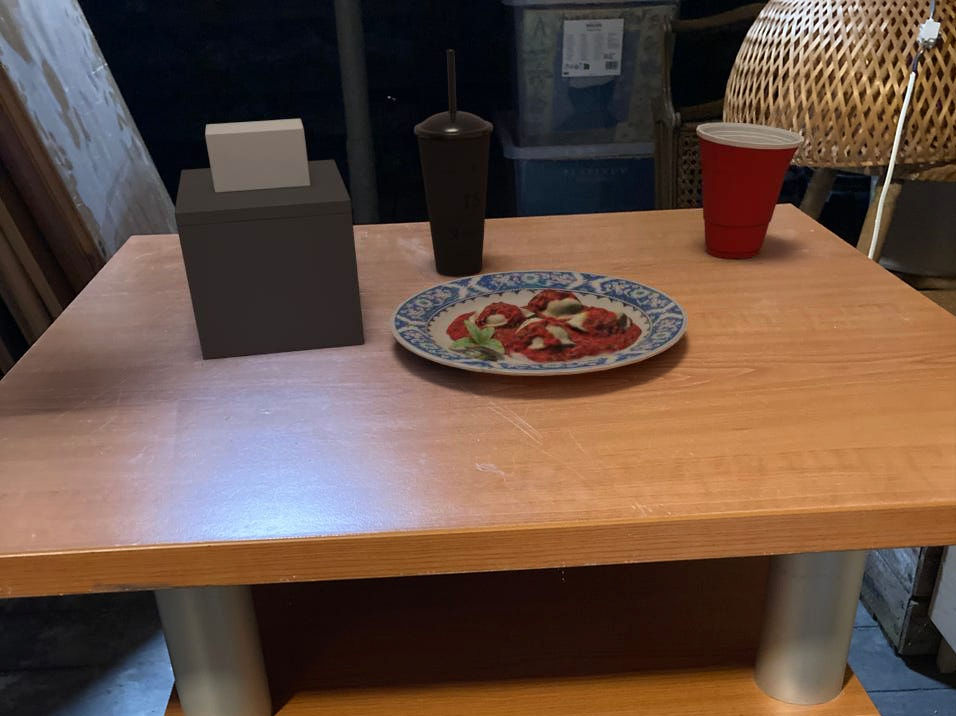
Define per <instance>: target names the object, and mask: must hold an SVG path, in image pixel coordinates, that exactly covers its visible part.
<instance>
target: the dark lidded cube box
mask: <svg viewBox="0 0 956 716" xmlns="http://www.w3.org/2000/svg"><path fill="white" fill-rule="evenodd" d="M308 169H309V177H310V186H303V187H289V188H276V189H262V190H248V191H235V192H221V193H215V189H214V183H213V177H212V172H211V167H208V168H207V167H205V168H193V169H190V168H189V169H182V170H181V173H180V178H179V184H178V190H177V195H176V200H175V201H176V202H175V206H174V207H175V208H174V218H175V219H174V221H175V224H176V230H177V236H178V240H179V244H180V249H181V254H182V259H183V264H184V269H185V274H186V280H187V285H188V290H189V294H190V300H191V305H192V311H193V315H194V319H195V325H196V330H197V334H198V339H199V346H200V350H201V355H202V359H203V360H210V359H221V358H222V359H223V358H232V357H242V356H253V355H263V354H274V353H283V352H293V351H295V352H296V351H306V350H314V349H324V348H335V347H346V346H356V345H364V344H365V335H364V334H365V333H364V324H363V313H362V304H361V303H362V302H361V294H360V293H361V291H360V284H359V283H360V282H359V273H358V263H357V252H356V243H355V242H356V241H355V232H354V231H355V230H354V221H353V210H352V201H351V198H350V195H349V192H348V191H347V187H346V186H345V183H344V180H343V178H342V176H341V175H342V174H341V173H340V171H339V168H338V165H337V164H336V161H335V159H322V160H308Z"/></svg>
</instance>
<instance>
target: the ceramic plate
mask: <svg viewBox="0 0 956 716" xmlns="http://www.w3.org/2000/svg"><path fill="white" fill-rule="evenodd" d="M688 326H689V315H688V313H687V311H686V309H685V308H684V307H683V305H682V304H681V303H680V301H678V300H676V299H675V298H673V297H672V296H670V295H669V294H667V293H665V292H663V291H662V290H660V289H658V288H656V287H652V286H651V285H648V284H645V283H642V282H638V281H636V280H630V279H627V278H623V277H619V276H614V275H608V274H606V275H605V274H601V273H594V272H589V271H576V270H560V269H559V270H558V269H557V270H556V269H531V270H530V269H529V270H528V269H525V270H509V271H500V272H499V271H498V272H489V273H482V274H476V275H469V276H463V277H459V278H457V279H453V280H449V281H445V282H442V283H438V284H435V285H432V286H430V287H428V288H427V287H426V288H425V289H422V290H420V291H418V292H416V293H414V294H413V295H411V296H409V297H407V298H406V299H405V300H403V301H402V302H400V303H399V304H398V305H397V307H396V308H395V309H394V310H393V311H392V313H391V316H390V317H389V328H390V332H391V334H392V336H393V337H394V339H395V341H396V342H398V343H399V344H400V345H401V346H403V348H405V349H407V350H408V351H410V352H412V353H414V354H416V355H417V356H419V357H421V358H424V359H427V360H430V361H433V362H435V363H439V364H440V365H446V366H448V367H453V368H457V369H461V370H466V371H471V372H475V373H477V372H478V373H487V374H496V375H507V376H523V377H524V376H531V377H532V376H534V377H536V376H537V377H547V376H549V377H550V376H563V375H565V376H566V375H579V374H586V373H593V372H599V371H601V372H602V371H606V370H611V369H615V368H619V367H624V366H627V365H632V364H635V363H640V362H642V361H645V360H648V359H649V358H652V357H654V356H656V355H658V354H661V353H663V352H666V351H667V350H668V349H670V348H671V347H672V346H674V345H675V344H677V343H678V342H679V341H680V340H681V339H682V338H683V337H684V335H685V333H686V332H687V329H688Z"/></svg>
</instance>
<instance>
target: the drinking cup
mask: <svg viewBox="0 0 956 716" xmlns="http://www.w3.org/2000/svg"><path fill="white" fill-rule="evenodd" d="M446 57H447V58H446V59H447V60H446V61H447V62H446V63H447V83H448V109H449V110H448V111H443V112H439V113H436V114H433V115H431V116H429V117H428V118H426V119H425V120H423V121H422V122H420V123H418V124H416V125H414V128H413V133H414V135H415V136H417V141H418V149H419V157H420V165H421V171H422V178H423V185H424V192H425V199H426V207H427V213H428V222H429V228H430V235H431V236H430V237H431V242H432V250H433V251H432V252H433V257H434V265H435V271H436V272H437V273H438V274H440V275H441V276H442V275H443V276H446V277H470V276H474V275H477V274H478V273H480V272H482V270H483V255H484V241H485V226H486V210H487V209H486V208H487V207H486V206H487V190H488V174H489V160H490V159H489V158H490V144H491V143H490V141H491V134H492V133H493V131H494V126H493V123H492V122H489V121H487V120H485V119H483V118H481V117H480V116H478V115H476V114H473V113H471V112H467V111H461V110H457V92H456V91H457V89H456V61H455V49H447V50H446Z"/></svg>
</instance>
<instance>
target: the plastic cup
mask: <svg viewBox="0 0 956 716" xmlns="http://www.w3.org/2000/svg"><path fill="white" fill-rule="evenodd" d="M695 131H696V135H697V136H698V143H699V152H700V165H701V187H702V188H701V194H702V219H703V221H704V222H703V223H704V245H705V248H706V250H705V251H706V252H707V253H708V254H709V255H712V256H714V255H715V256H714V257H716V256H718V257H717V258H722V257H725V258H724V259H732V258H741V259H749V257H750V258H753V257H752V256H754V257H756V256H758V255H759V254H760V252H761V249H762V248H763V246H764V243H765V239H766V236H767V232H768V228H769V225H770V223H771V222H772V218H773V216H774V212H775V209H776V206H777V203H778V200H779V197H780V193H781V191H782V187H783V184H784V181H785V179H786V174H787V171H788V170H789V168H790V165H791V162H792V160H794V157H795V154H796V153H797V151H798V149H799V148H800V146H801V147H802V145H803V143H804V142H805V137H804V136H803V135H801V134H799V133H797V132H794V131H790V130H788V129H784V128H781V127H780V128H779V127H774V126H769V125H763V124H756V123H755V124H754V123H745V122H723V121H721V122H707V123H703V124H699V125H697V127H696V129H695Z"/></svg>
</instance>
